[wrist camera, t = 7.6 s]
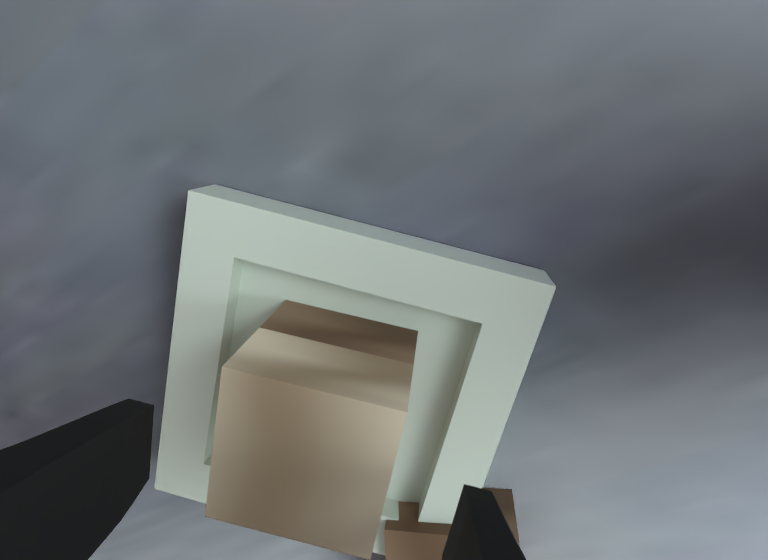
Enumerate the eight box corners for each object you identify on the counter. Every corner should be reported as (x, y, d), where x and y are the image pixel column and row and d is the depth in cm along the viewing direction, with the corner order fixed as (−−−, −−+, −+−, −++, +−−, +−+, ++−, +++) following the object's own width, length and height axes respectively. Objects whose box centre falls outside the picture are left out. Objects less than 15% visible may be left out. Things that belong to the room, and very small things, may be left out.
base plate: (544, 270, 14) (556, 286, 13) (449, 536, 17) (450, 574, 16) (215, 184, 15) (188, 190, 13) (179, 458, 18) (154, 488, 16)
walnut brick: (511, 488, 16) (519, 542, 14) (506, 579, 18) (512, 639, 16) (393, 479, 17) (384, 529, 15) (396, 567, 18) (387, 625, 16)
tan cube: (418, 330, 14) (407, 412, 10) (390, 445, 15) (370, 560, 11) (286, 299, 14) (221, 366, 10) (268, 414, 16) (205, 516, 12)
